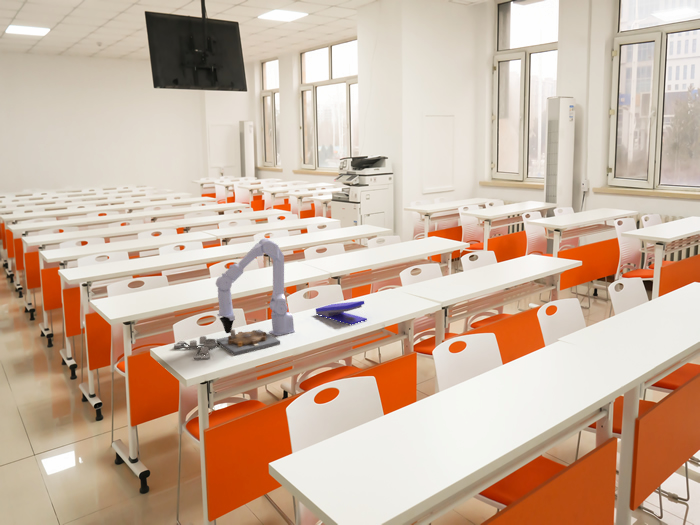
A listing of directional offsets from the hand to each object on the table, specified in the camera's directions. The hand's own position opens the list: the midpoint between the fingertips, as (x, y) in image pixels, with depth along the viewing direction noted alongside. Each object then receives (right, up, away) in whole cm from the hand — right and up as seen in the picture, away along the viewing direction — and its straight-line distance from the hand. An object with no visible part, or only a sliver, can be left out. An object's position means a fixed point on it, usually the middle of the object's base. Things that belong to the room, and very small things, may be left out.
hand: (228, 332), depth 251 cm
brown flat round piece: (+9, -3, -3) cm, 10 cm away
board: (+9, -4, -3) cm, 11 cm away
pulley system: (-10, -7, -8) cm, 15 cm away
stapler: (+50, +3, +29) cm, 58 cm away
